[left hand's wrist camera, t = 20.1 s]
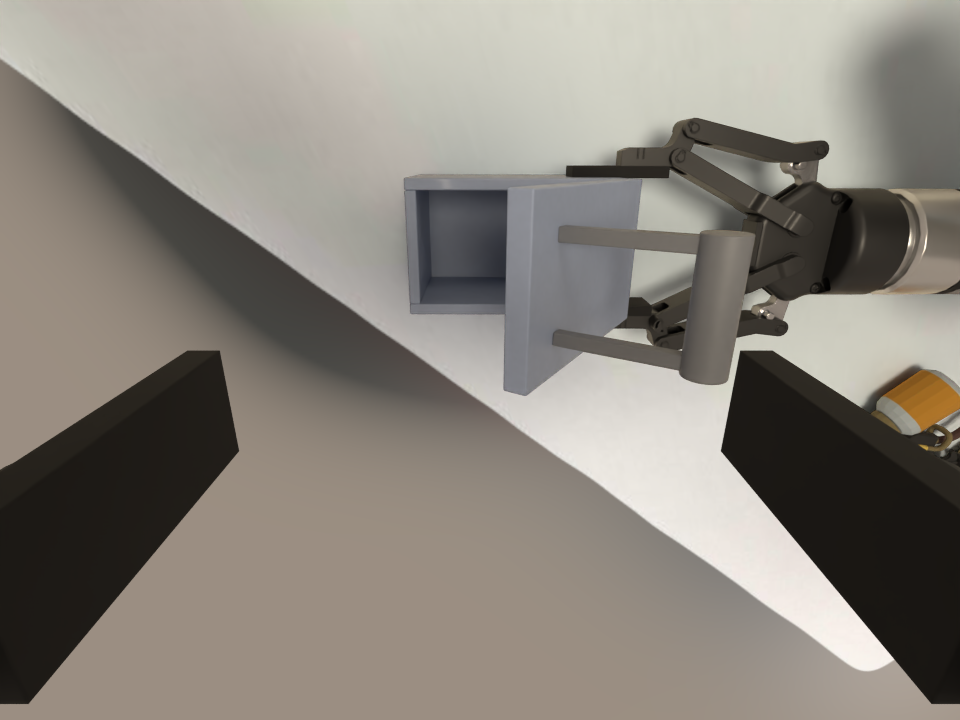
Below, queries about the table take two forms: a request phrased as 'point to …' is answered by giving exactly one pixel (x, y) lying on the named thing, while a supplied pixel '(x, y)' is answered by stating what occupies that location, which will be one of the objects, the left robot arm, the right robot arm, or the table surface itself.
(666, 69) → the table surface
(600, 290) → the lid
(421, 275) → the chest
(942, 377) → the spray gun
